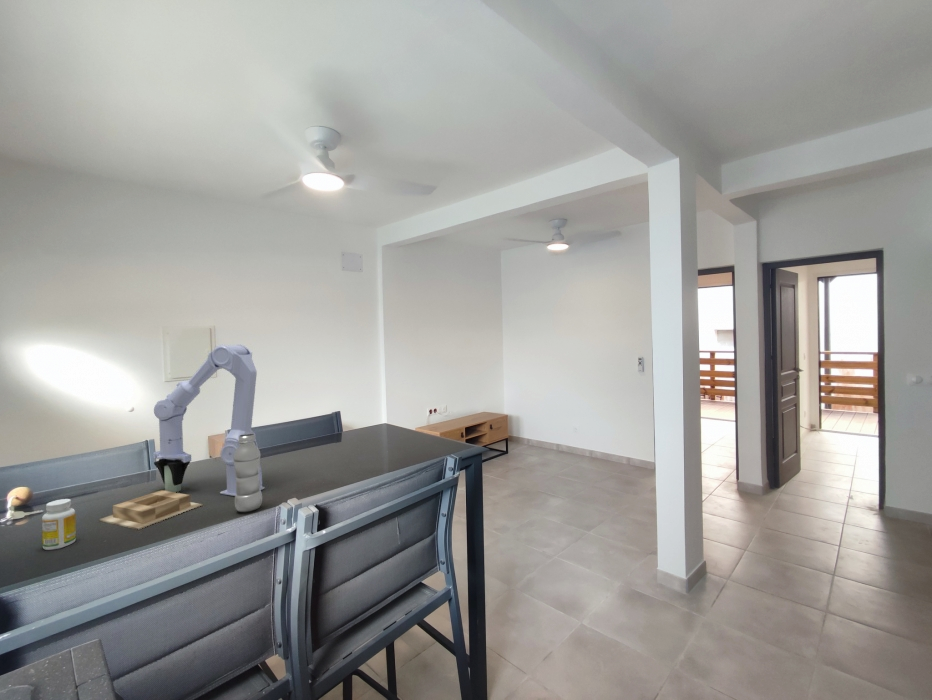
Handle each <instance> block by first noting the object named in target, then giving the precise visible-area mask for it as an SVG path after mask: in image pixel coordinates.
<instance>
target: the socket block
mask: <svg viewBox="0 0 932 700" xmlns="http://www.w3.org/2000/svg"><path fill="white" fill-rule="evenodd" d="M191 500H192V499H191V494H185V493H180V492H177V493H175V492H169V491H165V490H164V489H163V490H158V491H155V492H151V493H148V494H145V495H142V496H139V497H135V498H133V499H132V498H131V499H129V500H126V501H123V502H120V503H117V504H113V505H112V514H110V515H108V516H105V517H102V518H99V520H98V521H99V522H103V523H107V524H110V525H111V524H112V525H116V526H120V527H125V528H129V529H133V530H137V529H138V531H140V530H143V529H145V527H146V528H148V527H151V526H153V525H152V524H154V525H156V524H159V523H162V522H164V521H166V520H165V519H167V520H169V519H171V517H172V518H174V517H173V516H175V517H177V516H179V515H178V514H180V515H181V513H183V512H185V513H187V512H186V511H188V512H190V511H192V510H191V509H193V510H195V509H194V508H196V509H198V508H201V507H203V505H204V504H202V503H197V502H192V501H191ZM200 506H201V507H200ZM197 507H198V508H197ZM189 510H190V511H189ZM183 514H184V513H183ZM176 515H177V516H176ZM168 518H169V519H168ZM163 520H164V521H163ZM158 522H159V523H158ZM155 523H156V524H155ZM150 525H151V526H150ZM147 526H148V527H147ZM142 528H143V529H142Z"/></svg>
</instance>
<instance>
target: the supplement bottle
mask: <svg viewBox="0 0 932 700" xmlns="http://www.w3.org/2000/svg"><path fill="white" fill-rule="evenodd" d="M45 505H46V506H45V510H46V513H44V514H43V515H42V517H41V525H42V526H41V528H42V530H41V532H42V533H41V534H42V535H41V536H42V548H43V550H46V551H51V550H52V551H53V550H58V549H62V548H65V547H67V546H70V545H71V544H73V543H75V542H76V539H77V538H76V537H77V535H76V533H77V532H76V531H77V530H76V528H77V527H76V510H75V509H74V508H73V507H71V506H72V499H70V498H61V499H56V500H52V501H50V502H47V503H46V504H45Z"/></svg>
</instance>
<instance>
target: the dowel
mask: <svg viewBox="0 0 932 700" xmlns="http://www.w3.org/2000/svg"><path fill="white" fill-rule="evenodd" d="M164 475H165V484H164V491H169V492H175V493H176V492H177V493H180V492H181V491H182V484H179V485H176V486H175V485H174V484H173V480H172V474H171V471H170V468H169V466H168V465H166V466H164ZM179 491H180V492H179Z"/></svg>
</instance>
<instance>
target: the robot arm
mask: <svg viewBox="0 0 932 700" xmlns="http://www.w3.org/2000/svg"><path fill="white" fill-rule="evenodd" d="M222 369H223V370H225V371H227V372H229V373H230V374H231V375H232V376H233V377H234V378H235V380H234V381H235V382H234V390H233V391H234V392H233V401H232V403H233V404H232V411H231V412H232V413H231V414H232V415H231V422H230V423H231V424H230V431H229V432H228V433H227V435H226V437H225V438H224V442H223V443H224V444H223V445H222V447H221V448H220V449H221V450H220V453H219V455H220V459H221V460H222V462H224V463H225V467H226V468H225V469H226V489H225V490H222V491H220V492H219V494H221V495H226V496H232V497H233V496H234V497H235V495H236V484H237V480H236V478H237V477H236V470H235V465H234V460H233V455H234V453H235V451H236V449H237V448H238V447H239V445H240V443H238V441H239V435H243V434H254V439H255V441H254V444H255V445H256V446H257V448H258V443H257V439H256V432H254V431H253V430H252V426H253V425H252V424H253V423H252V422H253V416H254V415H253V414H254V402H255V393H256V384H257V383H256V382H257V374H258V372H257V368H256V367H255V363H254V360H253V352H252V351H251V350H250V349H249V348H247V347H246V346H245V345H242V344H236V345H235V344H234V345H233V344H232V345H227V344H220V345H219V344H218V345H217V346H215V347H214V349H213V350H212V351H210V353H208V355H207V358H206V360H204V362H203V363H202V364H201V366H200V367H199V368H198V369H197V370H196V372H195V373H194V374H192V376H191V378H190V379H189V380H183V381H179V382H178V383H177V384H176V387H175V389H174V390H173V391H172V392H171V393H170V394H167V395H166V398H165V399H162V400H158V401H157V402H156V404H155V405H154V408H153V413H154V416H155V417H156V418H157V419H158V422H159V423H158V426H159V450H158V451H154V452H153V453H152V454H153V455H152V457H153V459H155V460H156V461H153V464H154V466H155V467H156V469H157V470H158V472H159V474H160V477H161V479H162V482H163V484H164V485H165V475H164V466H166V465H168V466H169V468H170V471H171V474H172V480H173V484H174V485H175V486H176V485H179V484H181V485H182V484H183V481H184V477H185V473H186V471H187V468H188V466H189V464H190V463H191V462H192V454H189V453H187V452H185V451H184V435H183V421H184V416H185V414H186V412H187V410H188V408H187V407H189V405H190V404H191V403H192V401H194V400H195V398H196V397H198V395H199V394H200V393H201V388H200V387H201V386H203V384H204V383H206V382H207V381H208V380H209V379H210V378H211V377H212V376H213V375H214V374H215V373H217V372H218V370H222ZM258 449H259V448H258ZM262 469H263V468H262V466H261V464H259V483H260V490H261V491H262V490H265V486H263V471H262Z"/></svg>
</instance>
